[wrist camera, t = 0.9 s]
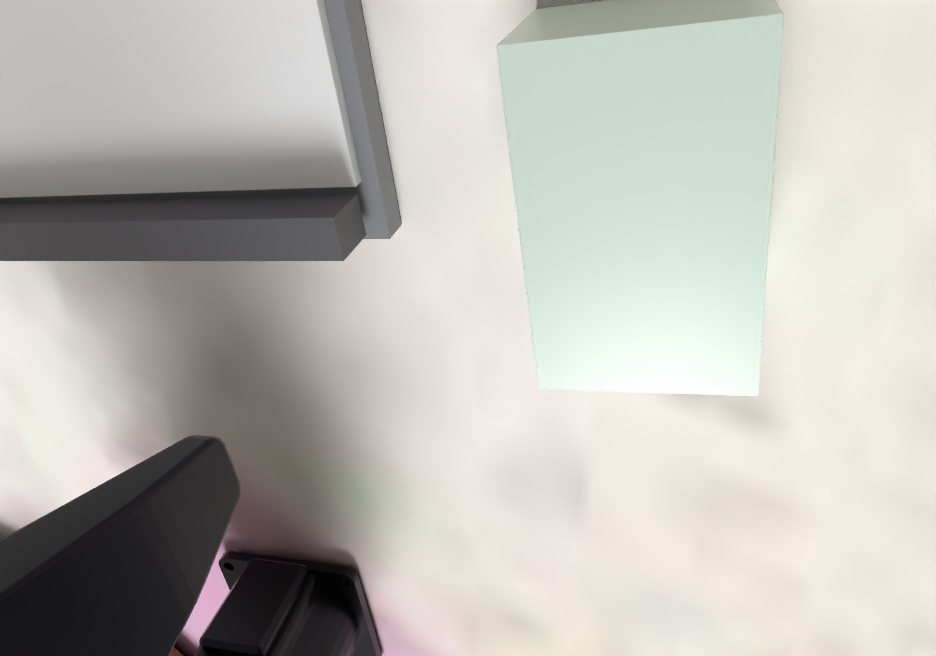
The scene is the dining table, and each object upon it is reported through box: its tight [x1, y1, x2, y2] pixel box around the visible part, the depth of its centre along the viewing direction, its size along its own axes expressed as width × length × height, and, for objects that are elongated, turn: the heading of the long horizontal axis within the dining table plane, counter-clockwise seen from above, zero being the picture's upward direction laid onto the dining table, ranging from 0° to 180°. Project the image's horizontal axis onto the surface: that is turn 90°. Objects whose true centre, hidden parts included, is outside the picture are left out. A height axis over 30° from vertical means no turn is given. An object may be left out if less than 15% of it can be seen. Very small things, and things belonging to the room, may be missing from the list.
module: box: [497, 0, 783, 396], centre depth 17 cm, size 8×5×4 cm, turn 9°
